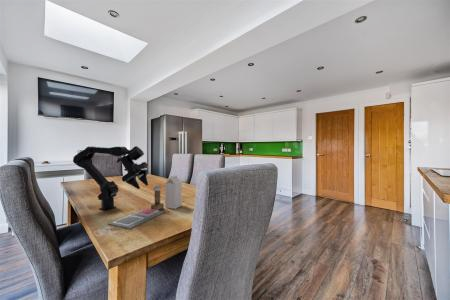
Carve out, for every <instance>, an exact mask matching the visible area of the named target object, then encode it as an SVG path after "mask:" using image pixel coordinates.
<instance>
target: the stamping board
mask: <svg viewBox="0 0 450 300" xmlns="http://www.w3.org/2000/svg"><path fill="white" fill-rule="evenodd" d="M163 214H165V211H163V210H154V209H151V208H143V209H140V210H138V211H136V212H133V213H131V214H128V215H125V216H122V217H121V218H118V219H115V220H113V221H111V222H107V225H108V226H112V227H118V228H122V229H127V230H132V229H134V228H137V226H141V225H142V224H144V223H146V222H148V221H151V220H152V219H155V218H156V217H158V216H161V215H163Z"/></svg>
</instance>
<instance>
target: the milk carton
mask: <svg viewBox="0 0 450 300" xmlns="http://www.w3.org/2000/svg"><path fill="white" fill-rule="evenodd" d="M182 187H183V182H182V181H181V179H180V178H179V177H178V175H173V176H170V177H169V179H168V180H166V182H165V189H164V190H165V191H164V192H165V196H164V197H165V202H164V204H165V208H166V209H174V210H176V209H178V208H181V207H182V205H183V204H182V203H183V200H182V199H183V198H182V197H183V195H182V193H183V192H182V190H183V188H182Z"/></svg>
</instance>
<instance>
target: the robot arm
mask: <svg viewBox="0 0 450 300" xmlns="http://www.w3.org/2000/svg"><path fill="white" fill-rule="evenodd" d="M95 154H104V155H111V156H114V157H117V160H116V163H118V164H119V163H121V164H122V165H123V168H124V169H123V170H124V171H125V172H127V173H126V174H124V175H123V176H122V177H121V181H122V182H123V183H126V184H128V185H130V186H132V187H133V188H135V189H137V190H139V189H141V187H140V184H139V183H138V180H139V181H140V182H142V184H143V185H145V186H149V183H148V179H147V178H148V177H147V175H148V173H149V171H148V166H149V164H148V163H147V162H146V161H142V162H141V163H139V164H138V163H135V161H137V160H139V159H140V158H142V157H143V156H144V154H145V153H144V150H142V149H141V148H140V147H139V146H138V145H137V146H134V147H132V148H131V149H128V148H127V147H126V146H113V147H101V146H92V145H91V146H86V148H85V149H83V150H81V151H80V152H78V153H77V154H75V155H74V156H73V159H72V162H73V163H74V164H75V165H76V166H77V167H78V168H79V167H80V168H81V169H83V170H85V172H87V174H88V175H89V176H90V177H91V179H93V181H95V183H96V184H97V185H98V186H99V190H100V192H101V193H99V194H98V195H97V199H98V200H99V201H100V203H101V204H100V205H101V207H98V210H103V211H109V210H111V209H115V208H117V206H115V199H114V197H116V196H117V194H118V193H119V187H118V184H116V182H115V181H114V180H112V181H111V180H110V181H109V180H108V179H107V178H106V177H105V176H104V175H103V174H102V172H100V171H99V169H98V168H97V167H96V166H95V165H94V164H93V158H94V157H95ZM137 178H138V180H137Z"/></svg>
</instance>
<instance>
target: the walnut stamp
mask: <svg viewBox="0 0 450 300" xmlns="http://www.w3.org/2000/svg"><path fill="white" fill-rule="evenodd" d="M153 190H154V203H152V204H150V209H154V210H159V211H162V210H163V209H164V204H165V202H161V190H162V185H161V184H159V183H156V184H155V185H154V186H153Z"/></svg>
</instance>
